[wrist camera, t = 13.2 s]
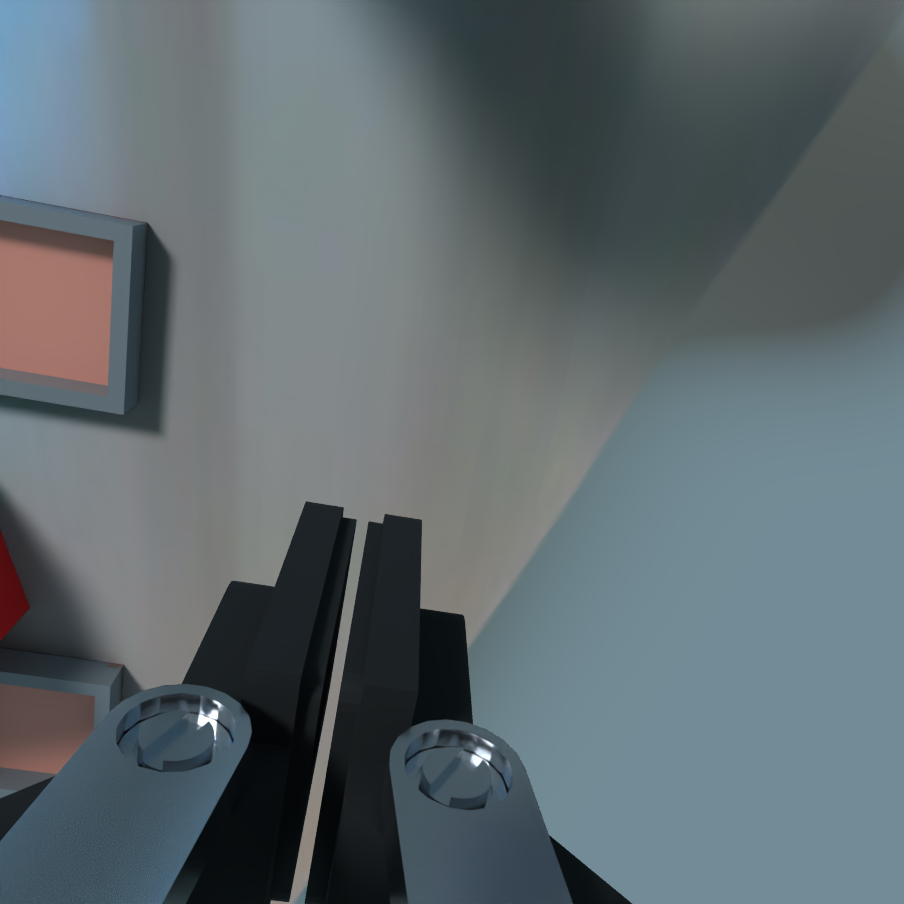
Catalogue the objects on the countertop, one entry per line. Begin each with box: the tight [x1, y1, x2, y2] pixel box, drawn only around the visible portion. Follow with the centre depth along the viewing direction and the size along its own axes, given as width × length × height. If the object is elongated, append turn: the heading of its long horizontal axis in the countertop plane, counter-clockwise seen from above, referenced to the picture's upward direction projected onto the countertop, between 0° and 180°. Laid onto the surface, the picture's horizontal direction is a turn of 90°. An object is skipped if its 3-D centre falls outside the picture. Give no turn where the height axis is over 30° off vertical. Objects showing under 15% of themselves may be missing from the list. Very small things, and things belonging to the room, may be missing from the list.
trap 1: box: [0, 648, 123, 798], centre depth 46 cm, size 9×9×2 cm
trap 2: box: [0, 195, 148, 415], centre depth 37 cm, size 9×9×2 cm
